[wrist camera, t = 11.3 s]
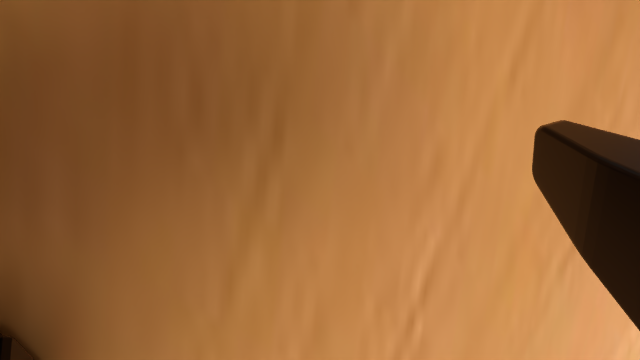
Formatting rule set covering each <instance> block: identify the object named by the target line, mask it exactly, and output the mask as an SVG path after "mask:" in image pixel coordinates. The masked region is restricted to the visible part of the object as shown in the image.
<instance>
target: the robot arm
mask: <svg viewBox="0 0 640 360" xmlns="http://www.w3.org/2000/svg"><path fill="white" fill-rule="evenodd" d="M532 172H533V177H534V180H535V182H536V184H537V186H538V187H539V189H540V191H541V192H542V194H543V195H544V197H545V199H546V200H547V202H548V204H549V205H550V207H551V208H552V210H553V212H554V213H555V215H556V217H557V218H558V220H559V221H560V223H561V225H562V226H563V228H564V230H565V231H566V233H567V234H568V236H569V238H570V239H571V241H572V242H573V244H574V246H575V247H576V249H577V250H578V252H579V253H580V255H581V256H582V257H583V259H584V260H585V262H586V263H587V264H588V266H589V267H590V268H591V269H592V271H593V272H594V273H595V275H596V276H597V277H598V278H599V280H600V281H601V282H602V283H603V285H604V286H605V287H606V289H607V290H608V291H609V292H610V294H611V295H612V296H613V298H614V299H615V300H616V301H617V303H618V304H619V305H620V306H621V308H622V309H623V310H624V312H625V313H626V314H627V315H628V317H629V318H630V319H631V320H632V322H633V323H634V324H635V326H636V327H637V328H638V329H639V331H640V140H638V139H634V138H630V137H627V136H623V135H619V134H615V133H611V132H607V131H604V130H600V129H596V128H592V127H588V126H585V125H581V124H577V123H573V122H569V121H565V120H561V121H557V122H553V123H549V124H546V125H542V126H540V127H539V128H538V129H537V131H536V133H535V139H534V151H533V163H532ZM0 360H34V359H33V358H32V357H31V356H30V355H29V354H28V353H27V351H26V350H25V349H24V348H23V347H22V346H21V345H20V344H19V343H18V342H17V341H16V340H15V339H14V338H13V337H9V336H3V335H2V334H1V333H0Z"/></svg>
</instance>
